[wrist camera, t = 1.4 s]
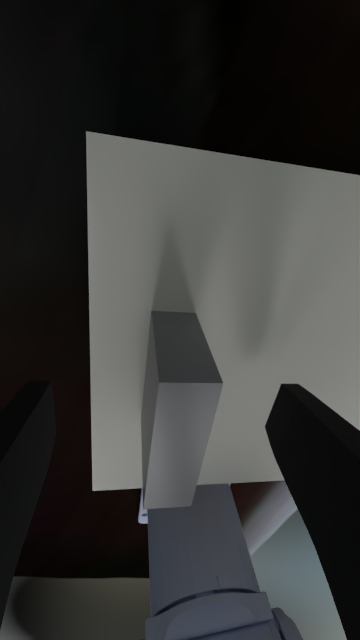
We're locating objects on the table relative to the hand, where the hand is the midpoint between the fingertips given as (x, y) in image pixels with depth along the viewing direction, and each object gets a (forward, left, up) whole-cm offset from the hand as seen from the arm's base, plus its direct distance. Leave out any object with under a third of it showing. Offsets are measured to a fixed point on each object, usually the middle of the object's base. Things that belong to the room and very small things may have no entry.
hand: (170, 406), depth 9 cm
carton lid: (0, -5, -3) cm, 5 cm away
